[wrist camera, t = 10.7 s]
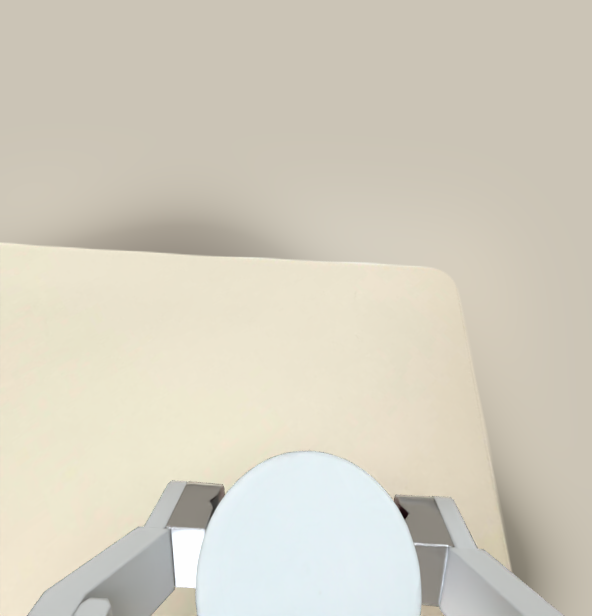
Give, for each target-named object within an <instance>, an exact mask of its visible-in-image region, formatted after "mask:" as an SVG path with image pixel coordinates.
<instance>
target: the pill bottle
mask: <svg viewBox="0 0 592 616" xmlns="http://www.w3.org/2000/svg"><path fill="white" fill-rule="evenodd" d="M421 603H422V591H421V577H420V568H419V562H418V557H417V553H416V549H415V546H414V543H413V540H412V537H411V534H410V532H409V529H408V526H407V524H406V522H405V520H404V518H403V516H402V514H401V513H400V511H399V509H398V507H397V506H396V504H395V503H394V501H393V500H392V498H391V497H390V496H389V494H388V493H387V492H386V490H385V489H384V488H383V487H382V486H381V485H380V484H379V483H378V482H377V481H376V480H375V479H374V478H373V477H372V476H370V475H369V474H368V473H367V472H365V471H364V470H363V469H361V468H360V467H358V466H357V465H355V464H353V463H352V462H350V461H348V460H346V459H343V458H340V457H337V456H335V455H332V454H328V453H324V452H316V451H295V452H289V453H285V454H281V455H278V456H274V457H272V458H269V459H267V460H266V461H264V462H262V463H260V464H258V465H257V466H255V467H254V468H252V469H251V470H249V471H248V472H247V473H245V474H244V475H243V476H242V477H241V478H240V479H239V480H238V481H237V482H236V483H235V484H234V485H233V486H232V487H231V488H230V489H229V491H228V492H227V493H226V494H225V496H224V497H223V498H222V500H221V501H220V503H219V504H218V506H217V508H216V510H215V512H214V514H213V515H212V517H211V519H210V521H209V524H208V527H207V529H206V532H205V535H204V538H203V541H202V544H201V548H200V552H199V557H198V563H197V570H196V609H197V616H421Z"/></svg>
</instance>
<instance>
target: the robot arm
mask: <svg viewBox="0 0 592 616" xmlns="http://www.w3.org/2000/svg"><path fill="white" fill-rule="evenodd" d="M224 496H225V492H224V486H223V484H213V483H201V482H190V481H189V482H185V481H174V480H172V481H171V482H169V483H168V484H167V486H166V488H165V490H164V492H163V493H162V495H161V497H160V499H159V500H158V502H157V504H156V506H155V508H154V509H153V511H152V513H151V515H150V517H149V518H148V520H147V522H146V524H145V525H144V527H137V528H136V529H134V530H133V531H131V532H130V533H128V534H127V535H126V536H124V537H123V538H121V539H120V540H118V541H117V542H115V543H114V544H113V545H111V546H110V547H108V548H107V549H105V550H104V551H102V552H101V553H100V554H98V555H97V556H95V557H94V558H92V559H91V560H89V561H88V562H87V563H85V564H84V565H82V566H81V567H79V568H78V569H76V570H75V571H74V572H72V573H71V574H69V575H68V576H66V577H65V578H63V579H62V580H61V581H59V582H58V583H56V584H55V585H53V586H52V587H50V588H49V589H48V590H46V591H45V592H44V593H43V594H42V596H41V597H40V598H39V600H38V601H37V602H36V604H35V605H34V607H33V608H32V609H31V611H30V612H29V613H28V615H27V616H151V615H152V614H153V613H154V611H155V610H156V609H157V608H158V607H159V606H160V605H161V604H162V603H163V602H164V601H165V599H166V598H167V597H168V596H169V595H170V594H171V593H172V592H173V591H174V590H175V587H185V588H196V570H197V563H198V557H199V552H200V548H201V544H202V541H203V538H204V535H205V532H206V529H207V527H208V524H209V521H210V519H211V517H212V515H213V514H214V512H215V510H216V508H217V506H218V504H219V503H220V501H221V500H222V498H223V497H224ZM394 503H395V504H396V506H397V507H398V509H399V511H400V513H401V514H402V516H403V518H404V520H405V522H406V524H407V526H408V529H409V532H410V534H411V537H412V540H413V543H414V546H415V549H416V553H417V557H418V562H419V568H420V577H421V591H422V603H421V605H428V606H437V607H440V610H441V611H442V613H443V614H444V615H445V616H564V615H563V614H561V613H560V612H559V611H558V610H557V609H555V608H554V607H553V606H552V605H550V604H549V603H548V602H547V601H546V600H544V599H543V598H542V597H541V596H540V595H538V594H537V593H536V592H535V591H534V590H532V589H531V588H530V587H529V586H527V585H526V584H525V583H524V582H523V581H521V580H520V579H519V578H518V577H516V576H515V575H514V574H513V573H512V572H511V571H509V570H508V569H507V568H506V567H504V566H503V565H502V564H501V563H500V562H498V561H497V560H496V559H495V558H494V557H492V556H491V555H490V554H489V553H487V552H486V551H485V550H483V549H478V548H477V546H476V544H475V542H474V540H473V538H472V536H471V534H470V532H469V530H468V528H467V526H466V524H465V522H464V520H463V518H462V516H461V514H460V512H459V510H458V508H457V506H456V504H455V502H454V500H453V499H452V498H451V497H440V496H432V497H430V496H412V495H395V497H394Z"/></svg>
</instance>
